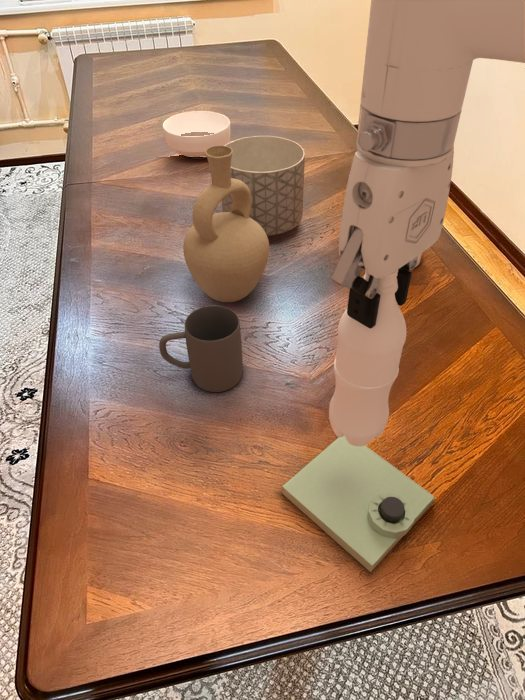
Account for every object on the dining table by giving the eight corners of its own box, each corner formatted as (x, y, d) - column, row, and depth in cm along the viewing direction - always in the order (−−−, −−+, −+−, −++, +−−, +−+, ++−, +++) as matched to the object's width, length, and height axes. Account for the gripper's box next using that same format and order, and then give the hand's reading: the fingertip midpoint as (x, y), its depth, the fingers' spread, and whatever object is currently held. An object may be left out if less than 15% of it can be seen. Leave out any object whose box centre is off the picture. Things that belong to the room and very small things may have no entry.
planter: (272, 199, 140) (272, 129, 127) (317, 230, 128) (322, 156, 116) (209, 221, 132) (202, 149, 120) (251, 256, 121) (249, 180, 108)
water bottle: (335, 401, 71) (353, 239, 54) (389, 415, 70) (426, 252, 52) (321, 443, 67) (336, 280, 49) (378, 459, 65) (415, 295, 48)
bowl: (192, 172, 152) (189, 142, 146) (153, 151, 162) (149, 122, 157) (245, 151, 161) (244, 123, 155) (204, 133, 172) (202, 105, 166)
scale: (435, 506, 75) (440, 492, 73) (373, 575, 69) (377, 562, 66) (344, 438, 84) (346, 424, 82) (281, 493, 77) (282, 480, 75)
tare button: (407, 512, 71) (409, 506, 70) (393, 527, 70) (395, 521, 69) (388, 498, 73) (390, 492, 72) (375, 512, 71) (376, 506, 70)
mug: (240, 353, 98) (237, 302, 90) (246, 390, 92) (243, 338, 83) (165, 361, 97) (155, 310, 89) (166, 399, 91) (154, 347, 82)
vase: (235, 328, 103) (225, 182, 83) (172, 297, 111) (149, 155, 90) (285, 286, 113) (288, 145, 92) (224, 259, 120) (214, 124, 99)
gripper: (378, 179, 36) (352, 370, 48) (504, 111, 44) (453, 290, 57) (297, 147, 40) (292, 331, 52) (426, 90, 48) (395, 261, 61)
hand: (376, 308), depth 54 cm, fingers closed on water bottle, 4 cm apart
